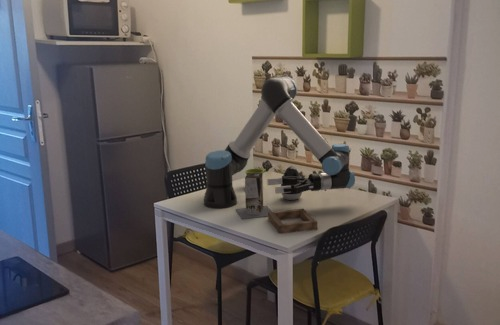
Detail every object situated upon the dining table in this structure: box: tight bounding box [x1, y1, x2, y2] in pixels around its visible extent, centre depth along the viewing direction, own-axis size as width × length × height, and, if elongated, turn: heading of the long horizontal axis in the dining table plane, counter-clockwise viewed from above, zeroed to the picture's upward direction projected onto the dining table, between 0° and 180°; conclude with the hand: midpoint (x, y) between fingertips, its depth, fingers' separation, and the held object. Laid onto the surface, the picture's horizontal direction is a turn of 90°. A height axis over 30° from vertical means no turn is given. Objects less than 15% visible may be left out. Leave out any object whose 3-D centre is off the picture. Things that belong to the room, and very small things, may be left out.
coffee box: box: [244, 173, 264, 215], centre depth 210 cm, size 9×6×16 cm
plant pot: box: [244, 168, 265, 176], centre depth 250 cm, size 9×9×9 cm
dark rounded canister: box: [280, 165, 303, 201], centre depth 228 cm, size 10×10×15 cm
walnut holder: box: [267, 208, 318, 234], centre depth 196 cm, size 15×17×3 cm
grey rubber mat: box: [235, 205, 273, 220], centre depth 211 cm, size 14×13×1 cm
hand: (271, 186), depth 210 cm, fingers open, 13 cm apart
